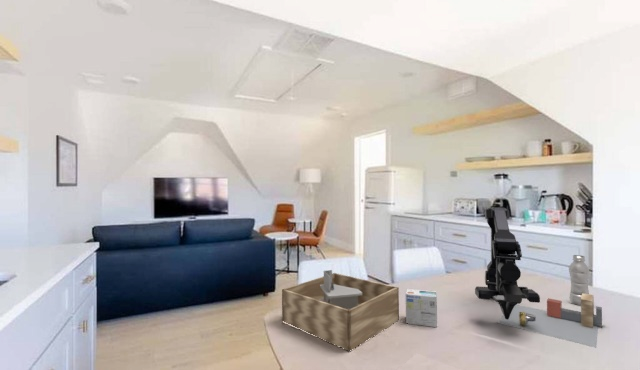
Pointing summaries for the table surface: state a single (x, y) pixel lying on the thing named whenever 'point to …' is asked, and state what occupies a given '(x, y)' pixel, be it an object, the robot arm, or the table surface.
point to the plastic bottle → (578, 279)
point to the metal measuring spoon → (525, 318)
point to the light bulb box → (421, 307)
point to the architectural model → (339, 293)
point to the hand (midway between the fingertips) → (506, 319)
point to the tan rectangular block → (587, 310)
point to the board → (553, 326)
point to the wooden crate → (341, 310)
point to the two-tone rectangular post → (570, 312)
